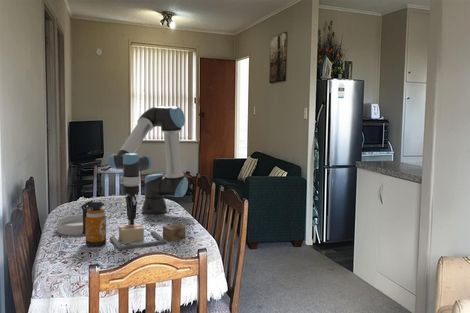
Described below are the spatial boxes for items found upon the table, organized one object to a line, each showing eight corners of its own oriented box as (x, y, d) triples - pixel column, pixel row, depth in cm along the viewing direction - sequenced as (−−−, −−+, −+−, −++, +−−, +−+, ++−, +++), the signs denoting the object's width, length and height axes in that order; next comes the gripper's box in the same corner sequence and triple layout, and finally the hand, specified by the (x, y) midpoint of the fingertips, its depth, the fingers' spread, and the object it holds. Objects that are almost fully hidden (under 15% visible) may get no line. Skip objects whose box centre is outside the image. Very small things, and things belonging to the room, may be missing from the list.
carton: (139, 235, 200) (139, 223, 199) (143, 240, 193) (143, 227, 192) (118, 238, 195) (118, 225, 195) (122, 242, 188) (122, 230, 188)
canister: (99, 247, 180) (99, 203, 178) (77, 245, 183) (76, 202, 180) (109, 241, 189) (109, 199, 187) (88, 239, 191) (87, 198, 189)
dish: (75, 238, 194) (75, 228, 194) (47, 230, 206) (47, 221, 205) (111, 227, 213) (111, 218, 212) (84, 221, 224) (84, 212, 224)
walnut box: (177, 235, 202) (177, 223, 201) (185, 239, 196) (185, 227, 195) (162, 238, 197) (162, 226, 196) (170, 242, 191) (170, 230, 190)
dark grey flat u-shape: (154, 233, 204) (154, 230, 204) (166, 243, 188) (166, 241, 188) (109, 238, 193) (109, 236, 193) (118, 250, 178) (118, 247, 177)
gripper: (120, 183, 201) (120, 229, 204) (126, 187, 190) (126, 236, 192) (135, 182, 205) (135, 227, 207) (142, 186, 194) (142, 234, 196)
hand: (131, 231), depth 200 cm, fingers closed
